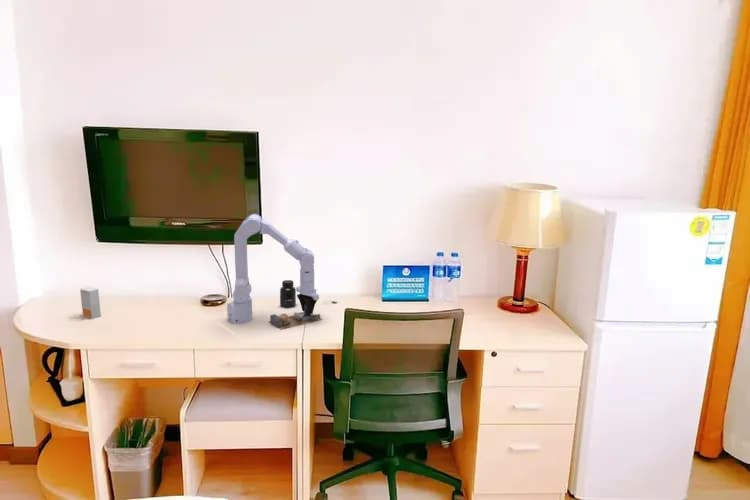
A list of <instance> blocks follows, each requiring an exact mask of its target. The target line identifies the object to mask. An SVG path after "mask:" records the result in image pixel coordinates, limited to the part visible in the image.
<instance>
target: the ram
mask: <svg viewBox="0 0 750 500" xmlns="http://www.w3.org/2000/svg"><path fill="white" fill-rule="evenodd" d="M303 312H304V313H303V314H298V313H299V312H298V313H297V312H296V311H295V312H293V316H294V318H295V319H297V320H298V321H301V318H304V317H308V316H312V315H315V314H314V313H313V314H308V313H307V306H306V303H304V311H303Z"/></svg>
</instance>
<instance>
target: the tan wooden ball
mask: <svg viewBox="0 0 750 500" xmlns="http://www.w3.org/2000/svg"><path fill="white" fill-rule="evenodd" d="M278 316H279V317H280V318H282V324H283V323H285V322H288V320H289V317H290V316H288V314H286V313H281V314H280V315H278Z"/></svg>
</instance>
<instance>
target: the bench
mask: <svg viewBox="0 0 750 500" xmlns="http://www.w3.org/2000/svg"><path fill="white" fill-rule="evenodd" d="M303 313H304V311H302V312H301V311H300V312H298V314H303ZM312 314H314V312H313V313H312ZM279 316H280V315H277V314H275V313H274V314H270V315H269V321H267V323H268V324H271V325H272V326H274V327H276V328H277V329H279V330H280V331H282V330H286V329H291V328H294V327H299V326H303V325H307V324H311V323H315V322H320V321H323V320H324V319H323V318H321V314H320V313H317V314H314V315H312V316H308V317H304V318H301V321H298V320H297V319H295V318H294V315H291V316H288V317H289V320H288V322H285V323H283V324H282V318H280V317H279Z"/></svg>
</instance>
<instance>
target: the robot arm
mask: <svg viewBox="0 0 750 500" xmlns="http://www.w3.org/2000/svg"><path fill="white" fill-rule="evenodd" d="M258 233H259V234H261V235H268V236H269V237H270V238H272V239H274V240H275V241H276V242H278V243H279V244H281V245H282V246H283V250H284V251H285V252H286V253H288V254H289V255H290V256H291V257H293V258H294V259H295V260H297V261H298V263H299V264H300V269H299V272H300V273H299V278H300V279H299V286H296V287H295V289H296V293H297V294H296V298H297V299H298V300H299V302H300V307H301V310H302V312H304V303H306V306H307V313H308V314H312V313H313V314H314V309H315V305H316V303H317V301H318V300H320V294H318V293H317V289H316V288H315V268H314V267H315V265H314V264H315V254H314V253H313V252H312V250H311V249H308V248H307V247H304V246H303V245H302V244H301V243H299V242H300V241H299V240H298V239H294V238H288V237H287V236H286V235H285V234H283V232H281V231H280V230H279V229H277V228H276V227H275V226H274V225H273V224H271V223H270V222H269V221H268V220H267V219H266V218H262V216H260V215H259V214H257V213H252V214H250V215H248V216H247V217H246V218H245V219H244V220H243V221H242V223H241V224H240V225H239V227H238V229H237V230H236V231H235V233H234V236H233V237H234V238H233V241H234V243H233V244H234V265H235V282H234V290H233V293H232V298H233V301H231V302H228V303H227V307H226V308H227V309H226V310H227V311H226V312H227V320H228V322H230V323H232V324H233V325H234V324H235V325H236V324H240V323H247V322H251V321H252V320H253V306H252V305H253V301H252V300H253V299H252V297H251V296H250V294H251V293H252V285H251V284H250V278H249V275H248V273H249V270H248V266H249V265H248V243H247V242H248V239H249V238H250V237H251V236H254V235H256V234H258Z"/></svg>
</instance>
